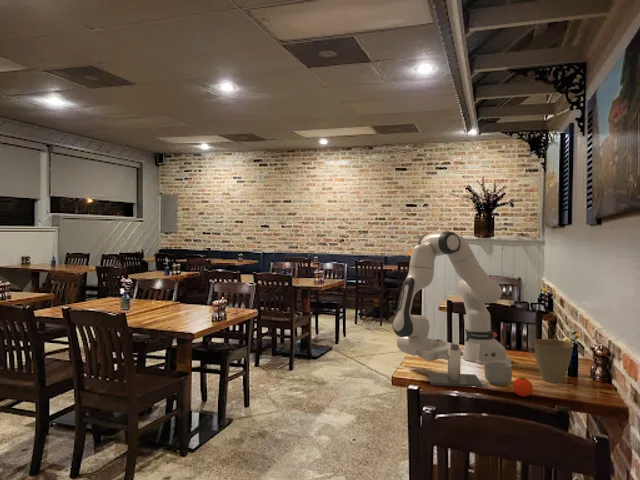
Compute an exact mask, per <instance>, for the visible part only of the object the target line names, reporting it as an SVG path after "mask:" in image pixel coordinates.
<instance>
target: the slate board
mask: <svg viewBox="0 0 640 480" xmlns="http://www.w3.org/2000/svg"><path fill="white" fill-rule="evenodd" d="M427 378H428V380H429V379H430V380H429V383H430V385H431V386H442V387H443V386H445V387H463V386H476V387H475V388H483V386H484V385H483V383H482V382H481V381H480V379H479V377H478V376H477V375H476V373H475V374H474V373H473V374H472V373H471V374H469V373H460V380H450V379H448V372H447V373H446V372H430V371H429V372H427Z"/></svg>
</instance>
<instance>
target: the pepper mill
mask: <svg viewBox="0 0 640 480" xmlns="http://www.w3.org/2000/svg"><path fill="white" fill-rule="evenodd" d="M461 351H462V350H461V349H460V346H459V344H458V343H452V344H451V348H449V349H448V355H449V359H448V360H447V373H448V379H450V380H460V374H461V366H462V365H461V363H462V361H461V359H462V356H461Z"/></svg>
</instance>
